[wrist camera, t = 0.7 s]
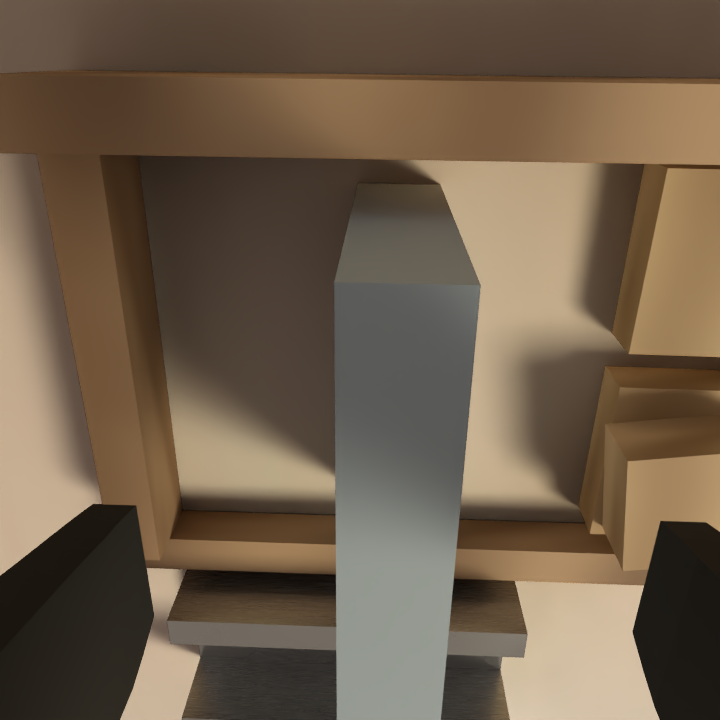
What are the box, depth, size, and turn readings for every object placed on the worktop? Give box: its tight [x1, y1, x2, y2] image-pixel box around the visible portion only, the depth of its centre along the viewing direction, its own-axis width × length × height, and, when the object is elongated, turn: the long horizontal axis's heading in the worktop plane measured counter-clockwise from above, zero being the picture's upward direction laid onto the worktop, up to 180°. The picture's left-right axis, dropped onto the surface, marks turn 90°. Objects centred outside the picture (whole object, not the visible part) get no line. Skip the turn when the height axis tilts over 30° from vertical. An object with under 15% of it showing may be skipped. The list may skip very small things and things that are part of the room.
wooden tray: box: [0, 70, 720, 585], centre depth 14 cm, size 17×12×4 cm
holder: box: [167, 569, 528, 720], centre depth 19 cm, size 9×4×3 cm, turn 89°
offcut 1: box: [612, 164, 720, 357], centre depth 14 cm, size 3×4×2 cm
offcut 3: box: [602, 414, 720, 571], centre depth 15 cm, size 3×3×2 cm
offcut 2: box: [578, 366, 720, 534], centre depth 17 cm, size 3×4×2 cm
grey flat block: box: [334, 183, 481, 720], centre depth 13 cm, size 2×8×7 cm, turn 179°
